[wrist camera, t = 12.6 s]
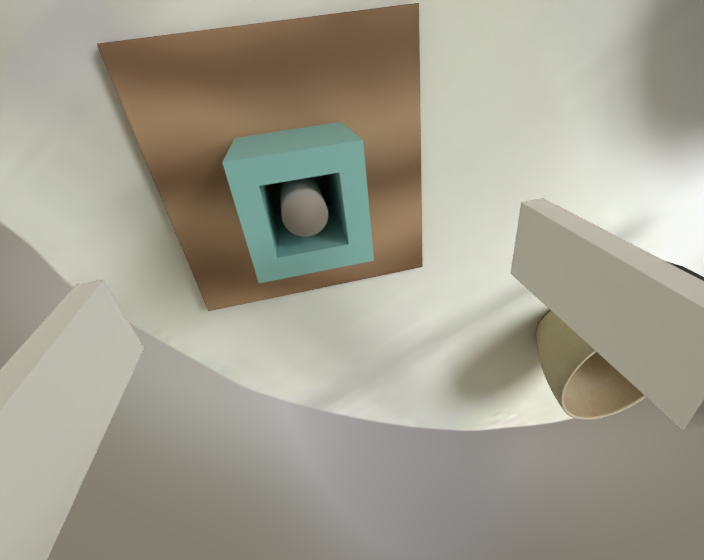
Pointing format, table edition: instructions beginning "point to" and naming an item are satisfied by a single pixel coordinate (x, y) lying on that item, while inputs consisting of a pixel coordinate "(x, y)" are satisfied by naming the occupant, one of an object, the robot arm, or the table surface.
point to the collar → (291, 164)
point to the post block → (271, 116)
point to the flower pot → (581, 373)
